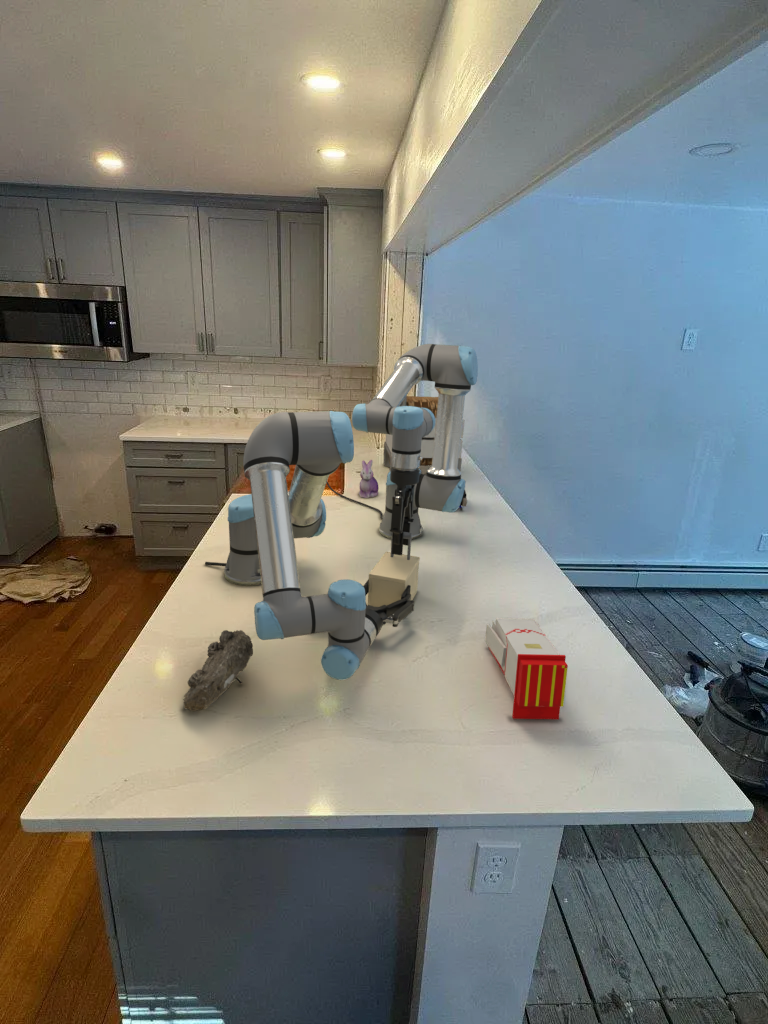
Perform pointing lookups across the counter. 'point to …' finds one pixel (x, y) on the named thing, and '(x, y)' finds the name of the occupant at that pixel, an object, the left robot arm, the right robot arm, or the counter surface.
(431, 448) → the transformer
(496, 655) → the toy
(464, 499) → the figurine character
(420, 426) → the right robot arm
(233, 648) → the fossil
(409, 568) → the lid
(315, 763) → the counter surface
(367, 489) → the figurine
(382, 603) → the chest
